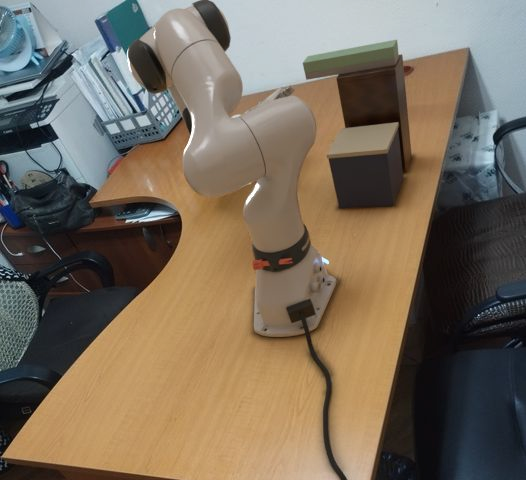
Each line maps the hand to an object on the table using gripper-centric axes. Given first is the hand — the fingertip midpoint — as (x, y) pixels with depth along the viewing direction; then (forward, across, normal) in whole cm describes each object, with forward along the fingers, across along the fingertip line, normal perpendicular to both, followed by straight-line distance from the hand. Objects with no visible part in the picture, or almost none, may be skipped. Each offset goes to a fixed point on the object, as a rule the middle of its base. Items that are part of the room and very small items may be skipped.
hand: (286, 96), depth 134 cm
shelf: (+8, 0, +30) cm, 32 cm away
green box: (+18, 0, +6) cm, 19 cm away
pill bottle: (-38, +24, +3) cm, 45 cm away
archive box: (+8, -13, +31) cm, 34 cm away
